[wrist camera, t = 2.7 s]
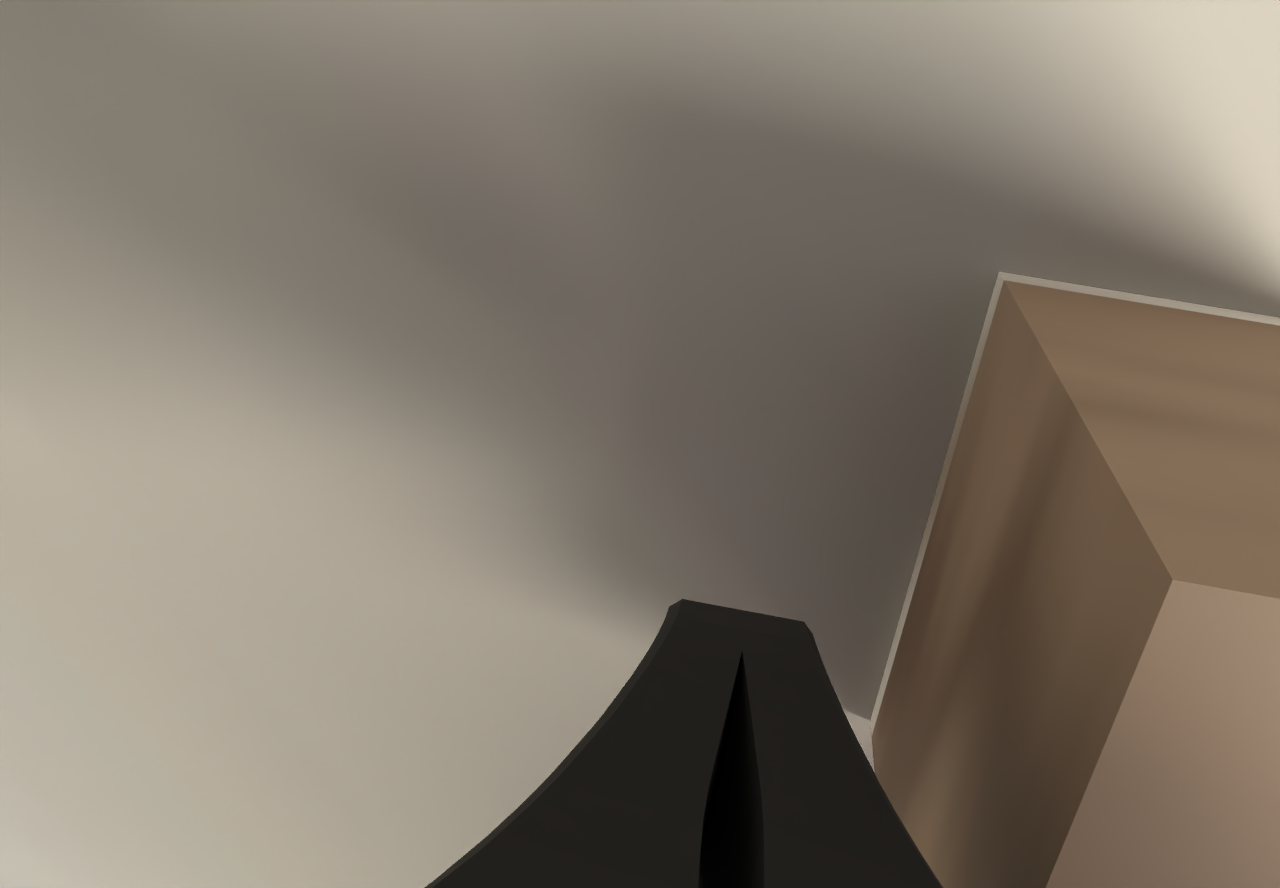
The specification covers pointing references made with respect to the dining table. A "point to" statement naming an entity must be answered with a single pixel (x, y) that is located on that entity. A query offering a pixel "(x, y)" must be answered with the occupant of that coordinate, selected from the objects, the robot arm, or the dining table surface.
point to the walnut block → (1097, 604)
